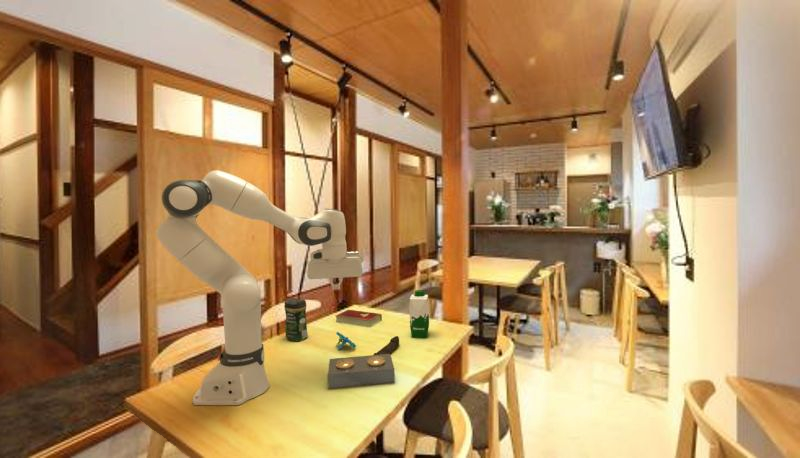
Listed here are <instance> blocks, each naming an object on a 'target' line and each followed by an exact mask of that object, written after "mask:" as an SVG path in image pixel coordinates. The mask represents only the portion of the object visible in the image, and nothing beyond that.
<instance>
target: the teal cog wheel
mask: <svg viewBox="0 0 800 458" xmlns="http://www.w3.org/2000/svg"><path fill="white" fill-rule="evenodd" d="M335 334H336V335H337V336H338V342H337V343H336V347H337V350H338V351H341V349H342V348H343V347H344V345H346V344H347V343H348V344H349V345H350V346H351V347H354V348H356V347H357V345H356V343H354V342H352V341H351V340H350V339H349V337H348V336H344V334H342V333H340V332H339V331H336V333H335ZM338 346H339V347H338Z"/></svg>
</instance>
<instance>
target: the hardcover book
mask: <svg viewBox="0 0 800 458" xmlns="http://www.w3.org/2000/svg"><path fill="white" fill-rule="evenodd" d="M334 317H336V319H335V320H336V323H340V324H347V325H353V326H360V327H367V328H370V327H372V326H374V325H375V324H378V323H379V322H381V321H383V317H382V313H379V312H378V313H376V312H369V311H364V310H363V311H362V310H355V309H354V310H353V309H346V310H344V311H342V312H340V313H338V314H336V315H334Z"/></svg>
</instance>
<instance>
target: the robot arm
mask: <svg viewBox="0 0 800 458" xmlns="http://www.w3.org/2000/svg"><path fill="white" fill-rule="evenodd" d="M161 202H162V205H163V207H164V209H165V210H166V212H167V218H166V219H165V220H163V221H162V222H161V223H160V224H159V225H158V227H157V229H156V237H157V239H158V241H159V242H160V243H161V245H163V247H164V248H165V250H167V252H169V254H170V255H171V256H172V257H174V258H175V259H176V260H177V261H178V262H179V263H180V264H181V265H183V266H184V267H185V268H186V269H187V270H188V272H191V274H192V275H194V276H195V277H196V278H197V279H199V281H200V280H201V281H203V283H205V284H207V285H208V286H210V287H211V288H212V289H214V290H215V291H216V292H218V293H219V294H220V296H221V303H222V316H223V331H224V333H223V334H224V347H223V348H222V349H221V352H219V354H218V356H217V361H219V362H218V363H217V364H216V365H214V367H212V368H211V369H210V370H209V371H208V372H207V373H206V374H205V375H204V377H203V379H202V381H201V383H200V384H201V385H200V387H199V388H198V389H197V391H196V392H195V393H194V395H193V398H192V404H193V405H194V406H239V405H242V404H244V403H246V402H247V401H249V400H251V399H253V398H256V397H258V396H261V395H262V394H263V393H265V392H266V391H267V390H268V389H269V388H270V381H269V379H268V376H267V373H266V369H265V364H264V363H265V349H264V344H263V342H262V294H261V293H262V291H261V290H262V289H261V287H260V285H259V283H258V281H257V279H256V278H255V276H254V275H253V274H252V272H250V271H249V270H248V269H247V268H246V267H244V266H243V265H242V264H240V263H239V262H238V261H237V260H236V259H235V258H234V257H233V256H232V255H230V253H228V252H227V251H226V250H225V249H223V247H222V246H221V245H219V244H218V242H216V241H215V240H214V238H212V237H211V236H210V235H209V234H208V233H207V232H206V231H205V230H203V229H202V227H200V225H199V223H197V220H196V219H197V218H198V217H199V215H200V213H202V211H203V210H204V209H205V207H207V206H209V205H210V206H217V207H220V208H222V209H225V210H227V211H228V212H231V213H233V214H235V215H237V216H239V217H243V218H246V219H250V220H257V221H263V222H266V223H268V224H270V225H271V226H274V227H276V228H278V229H280V230H283V231H284V232H286V233H287V234H288V235H289V237H290V238H291V239H292V240H293V241H294V242H296V243H297V244H300V245H304V246H306V247H307V246H308V247H313V246H317V245H321V246H322V247H321V248H320V249H316V250H314V251H312V252H311V253H310V254H309V258H310V260H309V261H308V264H307V271H306V272H307V278H308V279H309V280H321V279H328V282H329V284H330V285H331V290H332V291H338V290H341V285H342V283H343V279H344V278H355V277H356V278H358V277H359V278H360V277H362V276H363V274H364V271H363V269H364V268H363V262H364V254H363V253H361V252H360V251H347V250H348V249H347V241H346V234H347V227H346V219H345V214H344V213H343V212H342V211H341V210H340V209H336V208H335V209H334V208H323V209H322V210H321V211H320V212H318V213H317V214H315V215H313V216H311V217H308V218H307V217H296V216H295V215H292V214H290V213H288V212H286V211H285V210H282V209H281V208H279V207H277V206H275V205H274V204H273V203H272V202H271V201H270V199H269V198H268V196H267V195H266V193H265V192H263V191H262V190H261V189H260V188H258V187H257V186H256V185H254V184H252V183H250V182H248V181H246V180H245V179H243V178H240V177H238V176H236V175H235V174H231V173H229V172H225V171H222V170H218V169H216V170H212V171H209V172H208V173H206V175H204V177H203V178H202V180H200V179H192V180H191V179H182V180H181V179H180V180H179V179H178V180H176V181H171V183H168V184H167V186H166V187H165V188H164V189H163V191H162V192H161ZM337 278H338V281H339V282H338V283H337V284H335V283H334V282H333V281H334V279H337Z"/></svg>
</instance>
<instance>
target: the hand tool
mask: <svg viewBox="0 0 800 458" xmlns="http://www.w3.org/2000/svg"><path fill="white" fill-rule="evenodd" d="M399 346H400V337H399V336H398V335H396V336H395V335H394V337H392V338H391V339H390V340H389V342H388V343H386V345H385V346H383V347H382V348H381V349H380V350H378V351H377V352H375V353H373V355H381V354H390V355H391V353H392V352H393V351H397V349H398V348H399Z"/></svg>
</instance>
